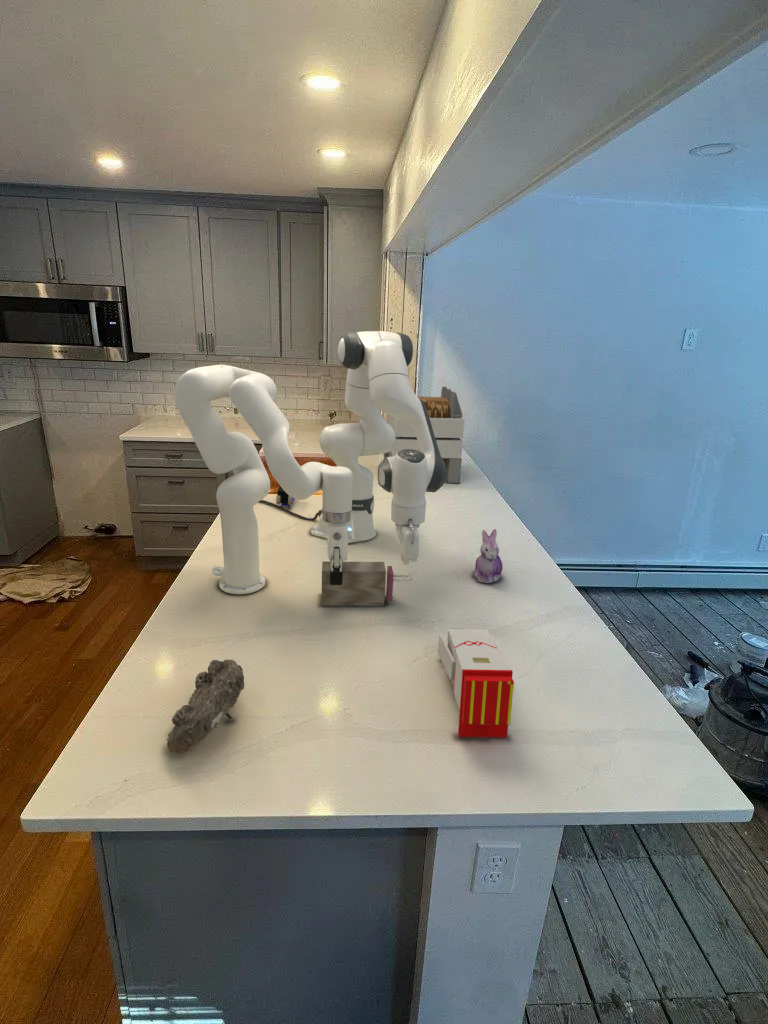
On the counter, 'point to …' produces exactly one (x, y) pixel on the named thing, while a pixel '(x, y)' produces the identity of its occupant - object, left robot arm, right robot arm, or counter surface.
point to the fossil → (206, 705)
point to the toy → (478, 682)
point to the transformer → (435, 431)
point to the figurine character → (284, 498)
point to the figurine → (488, 559)
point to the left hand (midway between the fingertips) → (336, 578)
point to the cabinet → (355, 584)
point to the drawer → (390, 581)
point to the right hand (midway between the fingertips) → (405, 562)
